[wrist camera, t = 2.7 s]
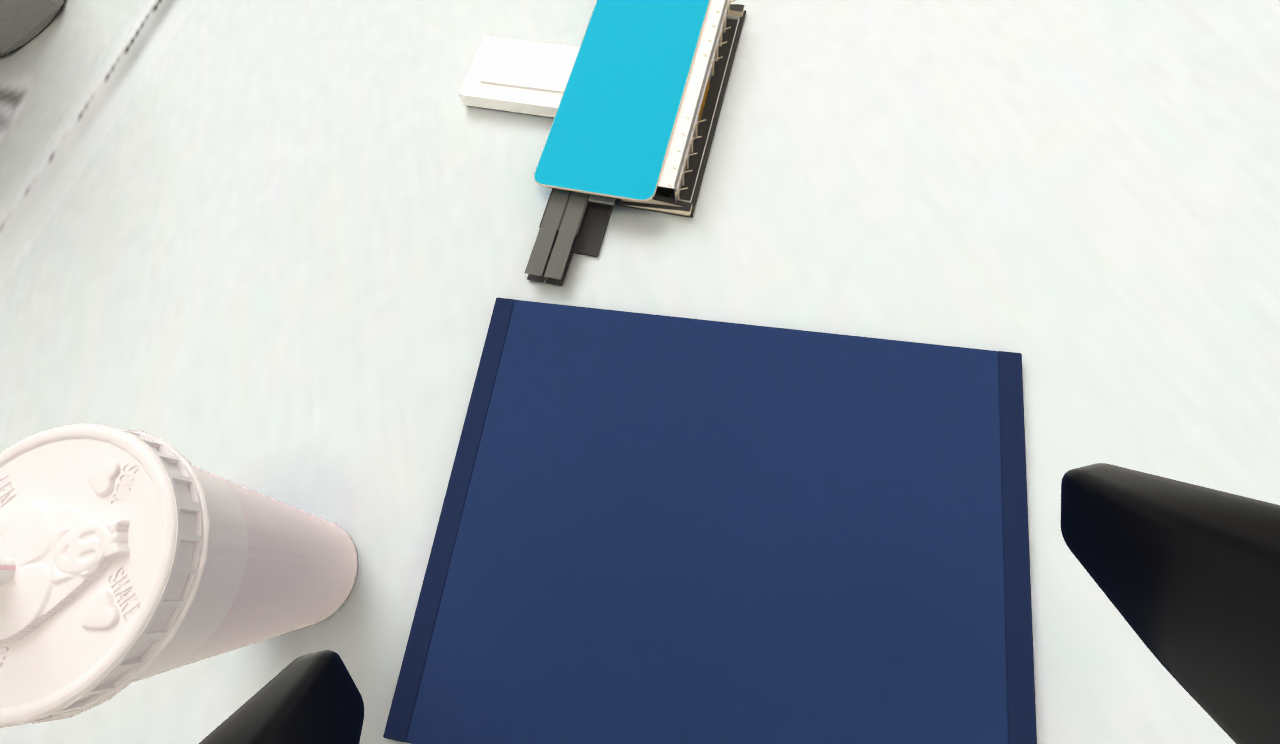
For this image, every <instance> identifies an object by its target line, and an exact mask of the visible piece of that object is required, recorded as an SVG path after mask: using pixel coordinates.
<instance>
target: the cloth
mask: <svg viewBox="0 0 1280 744" xmlns="http://www.w3.org/2000/svg"><path fill="white" fill-rule="evenodd" d="M383 737H384V738H387V739H392V740H396V741H401V742H407V743H411V744H1037V737H1036V711H1035V686H1034V660H1033V635H1032V609H1031V584H1030V558H1029V533H1028V507H1027V482H1026V456H1025V431H1024V405H1023V380H1022V354H1021V353H1012V352H1002V351H989V350H980V349H970V348H961V347H952V346H942V345H933V344H923V343H914V342H905V341H895V340H886V339H877V338H867V337H858V336H848V335H839V334H830V333H820V332H811V331H801V330H792V329H783V328H773V327H764V326H755V325H745V324H736V323H726V322H717V321H708V320H698V319H689V318H679V317H670V316H661V315H651V314H642V313H633V312H623V311H614V310H604V309H595V308H586V307H576V306H567V305H557V304H548V303H539V302H529V301H520V300H514V299H504V298H496V302H495V306H494V310H493V314H492V317H491V321H490V325H489V329H488V333H487V337H486V341H485V344H484V348H483V352H482V356H481V360H480V364H479V368H478V372H477V375H476V379H475V383H474V387H473V391H472V395H471V399H470V403H469V406H468V410H467V414H466V418H465V422H464V426H463V430H462V434H461V437H460V441H459V445H458V449H457V453H456V457H455V461H454V465H453V468H452V472H451V476H450V480H449V484H448V488H447V492H446V496H445V499H444V503H443V507H442V511H441V515H440V519H439V523H438V527H437V530H436V534H435V538H434V542H433V546H432V550H431V554H430V558H429V561H428V565H427V569H426V573H425V577H424V581H423V585H422V589H421V592H420V596H419V600H418V604H417V608H416V612H415V616H414V620H413V623H412V627H411V631H410V635H409V639H408V643H407V647H406V651H405V654H404V658H403V662H402V666H401V670H400V674H399V678H398V682H397V685H396V689H395V693H394V697H393V701H392V705H391V709H390V713H389V716H388V720H387V724H386V728H385V732H384V736H383Z"/></svg>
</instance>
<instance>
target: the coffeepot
mask: <svg viewBox="0 0 1280 744" xmlns="http://www.w3.org/2000/svg"><path fill="white" fill-rule="evenodd" d="M64 1H65V0H0V57H1V56H3V55H5V54H8V53H10V52H12V51H14V50H15V49H17V48H19V47H21V46H22V45H24V44H26V43H27V42H28V41H30V40H31V39H32V38H34V37H35V36H36V35H38V34H39V33H40V32H41V31H42V30H43V29H44V28H45V27H46V26H47V25H48V24H49V23H50V22H51V21H52V19H53V18H54V17H55V16H56V14H57V13H58V12H59V10H60V8H61V7H62V5H63V3H64Z"/></svg>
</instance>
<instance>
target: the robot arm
mask: <svg viewBox="0 0 1280 744" xmlns="http://www.w3.org/2000/svg"><path fill="white" fill-rule="evenodd" d="M1061 531H1062V535H1063V538H1064V540H1065V542H1066V544H1067V546H1068V547H1069V549H1070V550H1071V552H1072V553H1073V554H1074V555H1075V557H1076V558H1077V559H1078V560H1079V562H1080V563H1081V564H1082V565H1083V567H1084V568H1085V569H1086V570H1087V572H1088V573H1089V574H1090V576H1091V577H1092V578H1093V579H1094V581H1095V582H1096V583H1097V584H1098V586H1099V587H1100V588H1101V589H1102V591H1103V592H1104V593H1105V594H1106V596H1107V597H1108V598H1109V599H1110V601H1111V602H1112V603H1113V605H1114V606H1115V607H1116V608H1117V610H1118V611H1119V612H1120V613H1121V615H1122V616H1123V617H1124V618H1125V620H1126V621H1127V622H1128V623H1129V625H1130V626H1131V627H1132V628H1133V630H1134V631H1135V632H1136V634H1137V635H1138V636H1139V637H1140V639H1141V640H1142V641H1143V642H1144V644H1145V645H1146V646H1147V647H1148V648H1149V650H1150V651H1151V652H1152V653H1153V654H1154V656H1155V657H1156V658H1157V659H1158V660H1159V661H1160V663H1161V664H1162V665H1163V666H1164V667H1165V668H1166V669H1167V670H1168V672H1169V673H1170V674H1171V675H1172V676H1173V677H1174V678H1175V679H1176V680H1177V681H1178V682H1179V684H1180V685H1181V686H1182V687H1183V688H1184V689H1185V690H1186V691H1187V692H1188V693H1189V694H1190V695H1191V696H1192V697H1193V698H1194V699H1195V701H1196V702H1197V703H1198V704H1199V705H1200V706H1201V707H1202V708H1203V709H1204V710H1205V711H1206V712H1207V713H1208V714H1209V715H1210V716H1211V717H1212V718H1213V720H1214V721H1215V722H1216V723H1217V724H1218V725H1219V726H1220V727H1221V728H1222V729H1223V730H1224V731H1225V732H1226V733H1227V734H1228V735H1229V736H1230V737H1231V738H1232V740H1233V741H1234V742H1235V743H1236V744H1280V505H1276V504H1272V503H1267V502H1263V501H1259V500H1255V499H1251V498H1247V497H1243V496H1238V495H1234V494H1230V493H1226V492H1222V491H1218V490H1214V489H1209V488H1205V487H1201V486H1197V485H1193V484H1189V483H1184V482H1180V481H1176V480H1172V479H1168V478H1164V477H1160V476H1155V475H1151V474H1147V473H1143V472H1139V471H1135V470H1130V469H1126V468H1122V467H1118V466H1114V465H1110V464H1105V463H1098V464H1093V465H1089V466H1085V467H1081V468H1076V469H1072V470H1070V471H1068V472H1067V473H1065V475H1064V476H1063V478H1062V484H1061ZM363 720H364V703H363V699H362V696H361V694H360V692H359V690H358V688H357V687H356V685H355V683H354V681H353V679H352V678H351V676H350V674H349V672H348V670H347V669H346V667H345V665H344V663H343V661H342V660H341V658H340V656H339V655H338V654H337V653H335V652H334V651H329V650H326V651H322V652H318V653H313V654H309V655H305V656H302V657H299V658H297V659H295V660H294V661H293V662H292V663H290V664H289V665H288V666H287V667H286V668H285V669H284V670H282V671H281V672H280V673H279V674H278V675H277V676H276V677H274V678H273V679H272V680H271V681H270V682H269V683H268V684H266V685H265V686H264V687H263V688H262V689H261V690H260V691H258V692H257V693H256V694H255V695H254V696H253V697H252V698H250V699H249V700H248V701H247V702H246V703H245V704H244V705H242V706H241V707H240V708H239V709H238V710H237V711H236V712H234V713H233V714H232V715H231V716H230V717H229V718H228V719H226V720H225V721H224V722H223V723H222V724H221V725H220V726H218V727H217V728H216V729H215V730H214V731H213V732H212V733H210V734H209V735H208V736H207V737H206V738H205V739H204V740H202V741H201V742H200V743H199V744H359V741H360V736H361V731H362V725H363Z"/></svg>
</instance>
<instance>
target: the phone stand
mask: <svg viewBox="0 0 1280 744" xmlns="http://www.w3.org/2000/svg"><path fill="white" fill-rule="evenodd" d="M733 1H735V0H732V1H730V0H597V1H596V4H595V7H594V9H593V12H592V15H591V18H590V20H589V23H588V26H587V29H586V31H585V34H584V37H583V40H582V43H581V45H580V47H579V46H570V45H562V44H553V43H545V42H536V41H528V40H519V39H511V38H502V37H494V36H485V35H483V38H482V40H481V42H480V45H479V47H478V49H477V52H476V54H475V56H474V59H473V61H472V63H471V66H470V68H469V70H468V73H467V75H466V78H465V80H464V82H463V85H462V87H461V89H460V92H459V94H458V95H459V97H460V99H461V101H462V103H463V105H468V106H475V107H482V108H489V109H497V110H504V111H511V112H518V113H525V114H532V115H540V116H547V117H554V120H553V123H552V126H551V128H550V131H549V134H548V137H547V139H546V142H545V145H544V148H543V150H542V153H541V156H540V159H539V162H538V164H537V167H536V170H535V173H534V178H535V180H536V182H537V183H538V184H539V185H541V186H544V187H550V188H553V189H552V192H551V194H550V197H549V200H548V203H547V206H546V209H545V212H544V215H543V217H542V220H541V223H540V226H539V227H540V230H539V233H538V236H537V239H536V241H535V244H534V247H533V250H532V253H531V256H530V259H529V262H528V265H527V267H526V270H525V273H528V274H529V275H528V278H527V279H528V280H533V281H538V282H544V279H545V277H548V278H547V281H546V283H549V284H554V285H559V286H563V282H564V279H565V276H566V273H567V270H568V267H569V264H570V261H571V258H572V255H573V253H579V254H584V255H590V256H595V257H598V253H599V250H600V247H601V244H602V240H603V237H604V234H605V231H606V227H607V224H608V221H609V218H610V214H611V211H612V208H613V206H614V205H619V206H626V207H632V208H638V209H644V210H650V211H656V212H662V213H668V214H675V215H681V216H687V217H693V213H694V209H695V205H696V201H697V198H698V194H699V190H700V186H701V182H702V178H703V175H704V171H705V167H706V163H707V159H708V155H709V152H710V148H711V144H712V140H713V136H714V132H715V129H716V125H717V121H718V117H719V113H720V109H721V106H722V102H723V98H724V94H725V90H726V87H727V83H728V79H729V75H730V71H731V67H732V64H733V60H734V56H735V52H736V48H737V44H738V41H739V37H740V33H741V29H742V25H743V21H744V18H745V14H746V11H744V5H738V4H730V2H733ZM674 190H675V196H674V199H672V198H673V197H672V196H673V194H674ZM616 198H619V199H622V202H621V205H620V204H615V200H616Z"/></svg>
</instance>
